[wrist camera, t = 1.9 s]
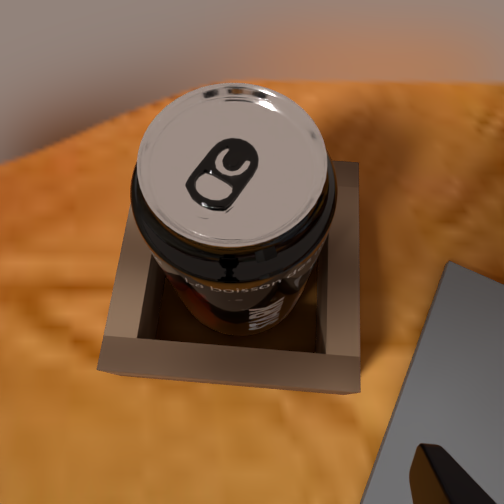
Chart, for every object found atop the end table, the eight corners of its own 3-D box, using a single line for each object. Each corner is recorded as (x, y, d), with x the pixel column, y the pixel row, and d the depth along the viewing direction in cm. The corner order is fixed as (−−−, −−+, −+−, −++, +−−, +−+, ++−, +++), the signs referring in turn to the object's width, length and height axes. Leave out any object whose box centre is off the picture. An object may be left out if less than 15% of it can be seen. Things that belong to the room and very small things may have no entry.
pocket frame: (343, 394, 21) (360, 392, 18) (120, 375, 22) (96, 369, 18) (344, 194, 25) (358, 162, 22) (156, 180, 26) (142, 147, 22)
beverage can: (155, 295, 23) (64, 189, 12) (224, 202, 25) (203, 35, 14) (260, 364, 22) (269, 319, 11) (324, 260, 24) (389, 129, 13)
